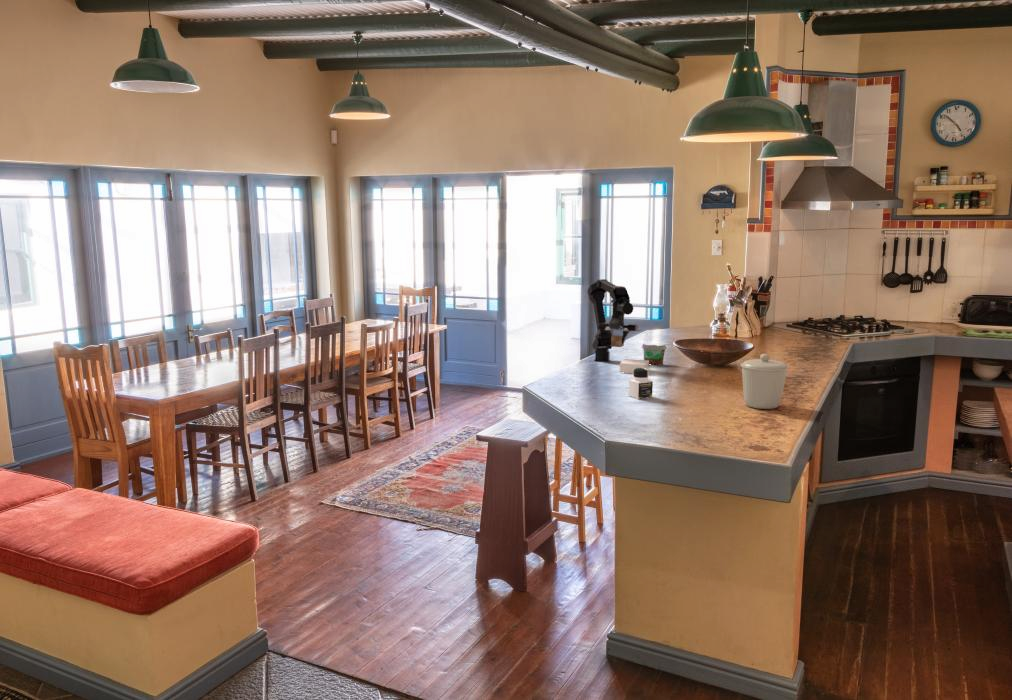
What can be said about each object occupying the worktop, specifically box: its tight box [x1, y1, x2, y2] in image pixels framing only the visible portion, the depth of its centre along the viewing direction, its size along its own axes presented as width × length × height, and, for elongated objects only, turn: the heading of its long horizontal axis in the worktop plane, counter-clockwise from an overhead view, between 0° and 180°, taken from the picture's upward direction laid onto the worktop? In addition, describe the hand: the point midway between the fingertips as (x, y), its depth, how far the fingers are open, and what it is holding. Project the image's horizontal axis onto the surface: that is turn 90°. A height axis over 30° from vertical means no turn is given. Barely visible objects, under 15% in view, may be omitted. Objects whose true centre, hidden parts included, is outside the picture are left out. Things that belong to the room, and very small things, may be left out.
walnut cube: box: [611, 334, 625, 348], centre depth 392 cm, size 5×5×5 cm
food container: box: [641, 343, 667, 366], centre depth 399 cm, size 12×6×10 cm, turn 62°
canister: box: [740, 353, 790, 410], centre depth 312 cm, size 18×18×21 cm
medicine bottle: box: [628, 368, 654, 400], centre depth 328 cm, size 7×7×12 cm
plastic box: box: [619, 358, 650, 374], centre depth 382 cm, size 12×12×5 cm
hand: (617, 344), depth 392 cm, fingers closed on walnut cube, 5 cm apart
